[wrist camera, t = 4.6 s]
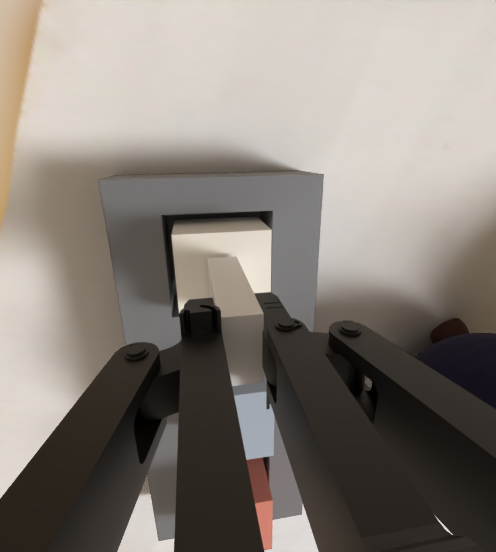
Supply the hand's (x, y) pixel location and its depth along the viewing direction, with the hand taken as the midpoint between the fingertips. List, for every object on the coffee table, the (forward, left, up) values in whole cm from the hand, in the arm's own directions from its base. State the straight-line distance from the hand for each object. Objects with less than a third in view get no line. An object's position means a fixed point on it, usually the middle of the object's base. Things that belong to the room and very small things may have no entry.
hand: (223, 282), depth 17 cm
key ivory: (0, 0, -4) cm, 4 cm away
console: (+9, 0, -7) cm, 11 cm away
